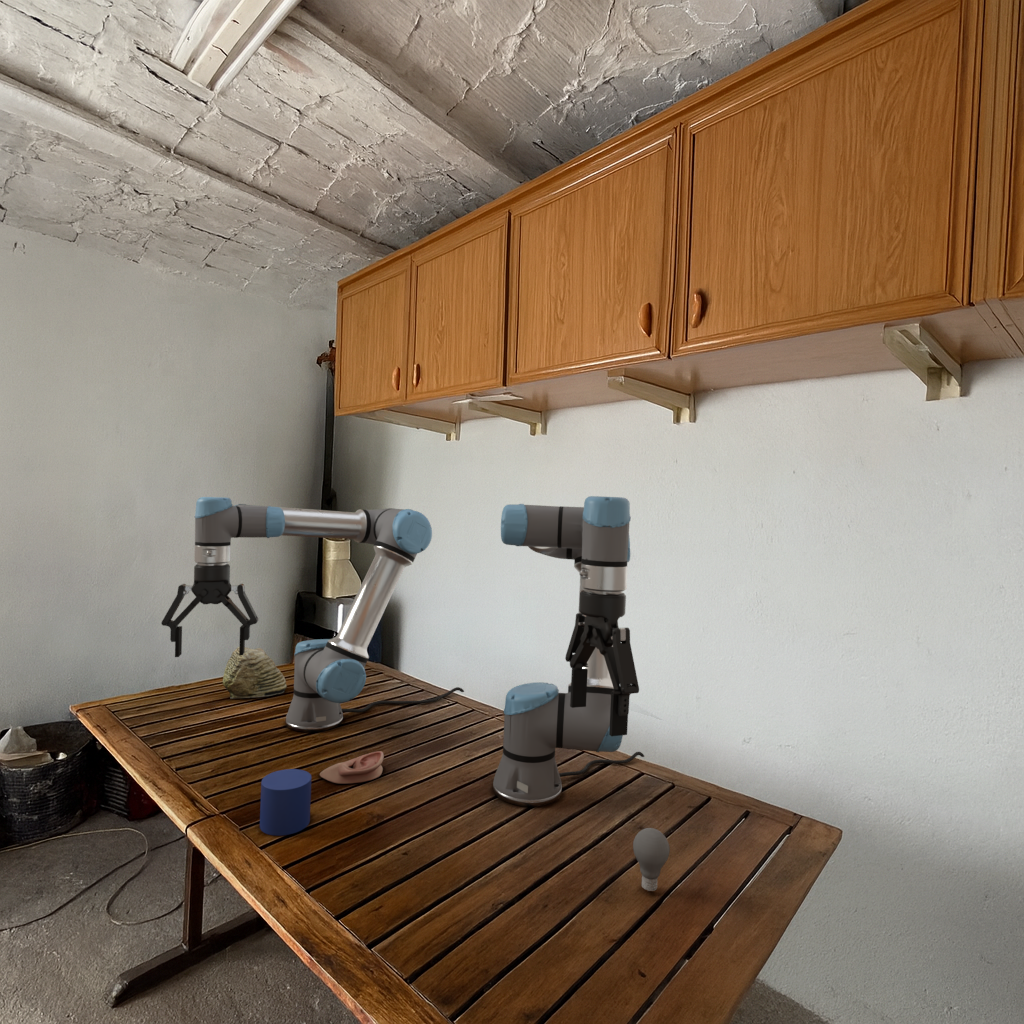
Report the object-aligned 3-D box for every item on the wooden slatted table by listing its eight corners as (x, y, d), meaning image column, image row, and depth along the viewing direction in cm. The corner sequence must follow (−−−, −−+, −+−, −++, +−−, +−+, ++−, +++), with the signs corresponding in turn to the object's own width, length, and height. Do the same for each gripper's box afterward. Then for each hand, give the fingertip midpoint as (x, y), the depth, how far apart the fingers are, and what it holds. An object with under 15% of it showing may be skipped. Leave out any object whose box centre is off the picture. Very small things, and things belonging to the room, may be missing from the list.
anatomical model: (313, 762, 141) (337, 743, 152) (312, 780, 141) (337, 759, 152) (369, 770, 138) (389, 750, 149) (368, 788, 138) (389, 767, 149)
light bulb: (627, 878, 109) (629, 820, 109) (660, 878, 109) (663, 821, 109) (636, 900, 103) (639, 839, 103) (672, 900, 104) (675, 839, 103)
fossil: (218, 695, 195) (220, 647, 195) (278, 685, 208) (279, 640, 207) (228, 703, 189) (230, 653, 188) (289, 692, 201) (290, 645, 201)
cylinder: (262, 839, 116) (264, 793, 116) (257, 817, 124) (258, 773, 124) (314, 829, 121) (315, 784, 121) (305, 808, 129) (306, 765, 129)
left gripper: (147, 565, 140) (145, 660, 140) (267, 565, 146) (265, 657, 147) (157, 561, 147) (155, 652, 147) (271, 562, 153) (269, 649, 154)
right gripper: (550, 580, 114) (545, 698, 114) (622, 604, 90) (615, 751, 91) (587, 580, 116) (582, 695, 117) (667, 603, 93) (660, 746, 93)
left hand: (210, 654), depth 147 cm, fingers open, 13 cm apart
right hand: (596, 720), depth 104 cm, fingers open, 13 cm apart
